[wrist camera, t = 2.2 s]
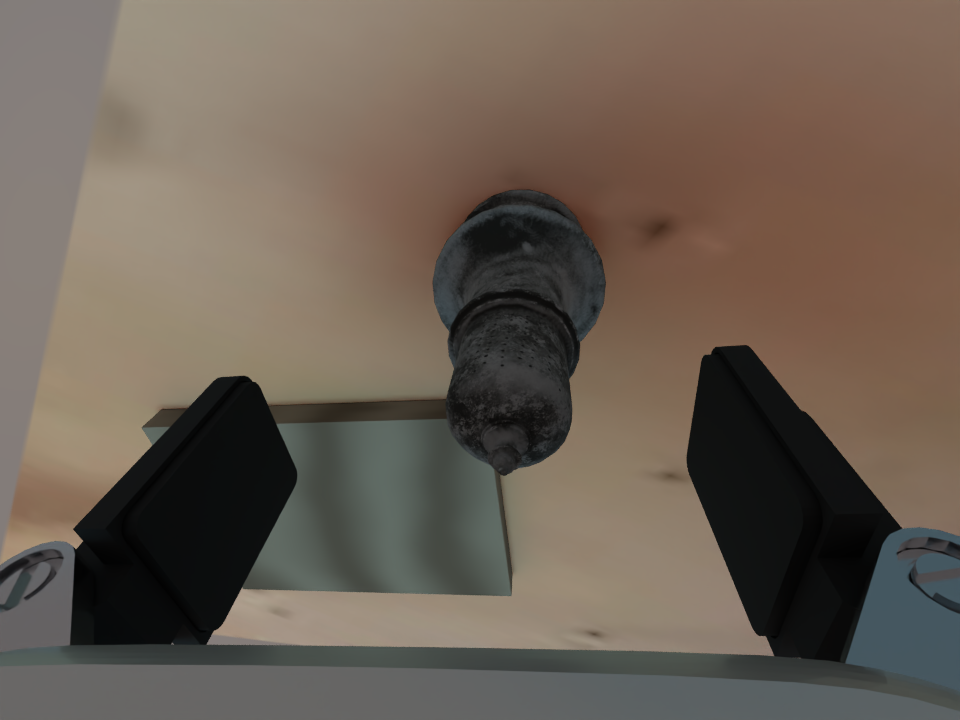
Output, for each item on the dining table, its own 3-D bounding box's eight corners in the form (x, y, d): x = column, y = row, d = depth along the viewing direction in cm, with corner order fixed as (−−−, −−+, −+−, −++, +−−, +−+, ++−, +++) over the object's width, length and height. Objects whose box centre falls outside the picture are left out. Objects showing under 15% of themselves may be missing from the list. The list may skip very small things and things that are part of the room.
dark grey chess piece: (531, 345, 21) (528, 601, 11) (421, 269, 20) (302, 484, 10) (626, 243, 18) (738, 462, 8) (506, 146, 17) (463, 267, 7)
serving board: (489, 398, 23) (486, 417, 22) (512, 573, 30) (511, 595, 29) (161, 409, 26) (141, 427, 24) (254, 568, 33) (243, 588, 32)
